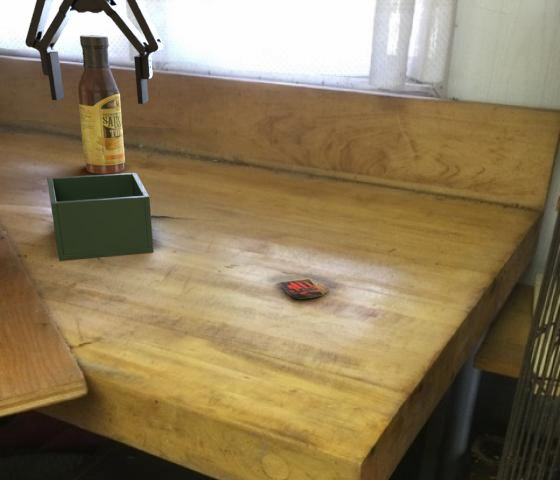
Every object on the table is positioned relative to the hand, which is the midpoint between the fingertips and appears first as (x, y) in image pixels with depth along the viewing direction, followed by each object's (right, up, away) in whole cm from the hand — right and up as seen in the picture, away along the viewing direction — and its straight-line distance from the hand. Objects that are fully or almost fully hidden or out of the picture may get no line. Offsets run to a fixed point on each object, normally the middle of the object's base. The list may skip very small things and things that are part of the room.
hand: (100, 100), depth 106 cm
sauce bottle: (0, -10, +6) cm, 11 cm away
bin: (+6, -25, -21) cm, 34 cm away
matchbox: (+30, -33, -33) cm, 55 cm away
